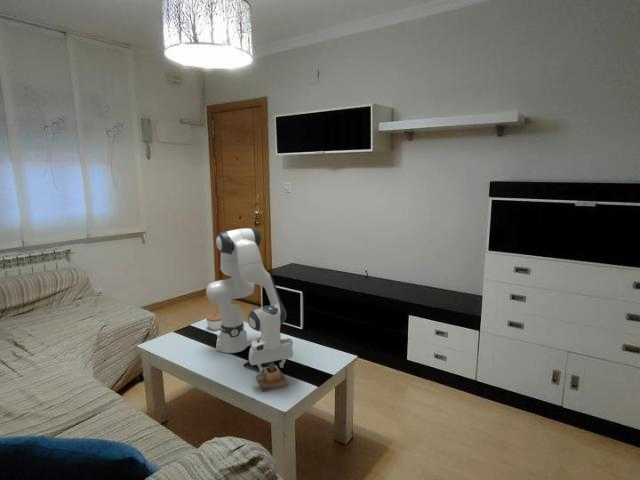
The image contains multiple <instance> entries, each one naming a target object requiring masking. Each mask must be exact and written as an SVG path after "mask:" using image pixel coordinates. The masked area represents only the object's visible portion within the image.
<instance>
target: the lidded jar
mask: <svg viewBox="0 0 640 480" xmlns="http://www.w3.org/2000/svg"><path fill="white" fill-rule="evenodd" d="M206 323H207V326H208V328H209V329H210V330H212V331H219V330H221V324H222V318H221V312H216V313H211V314H208V315H207V316H206Z"/></svg>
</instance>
